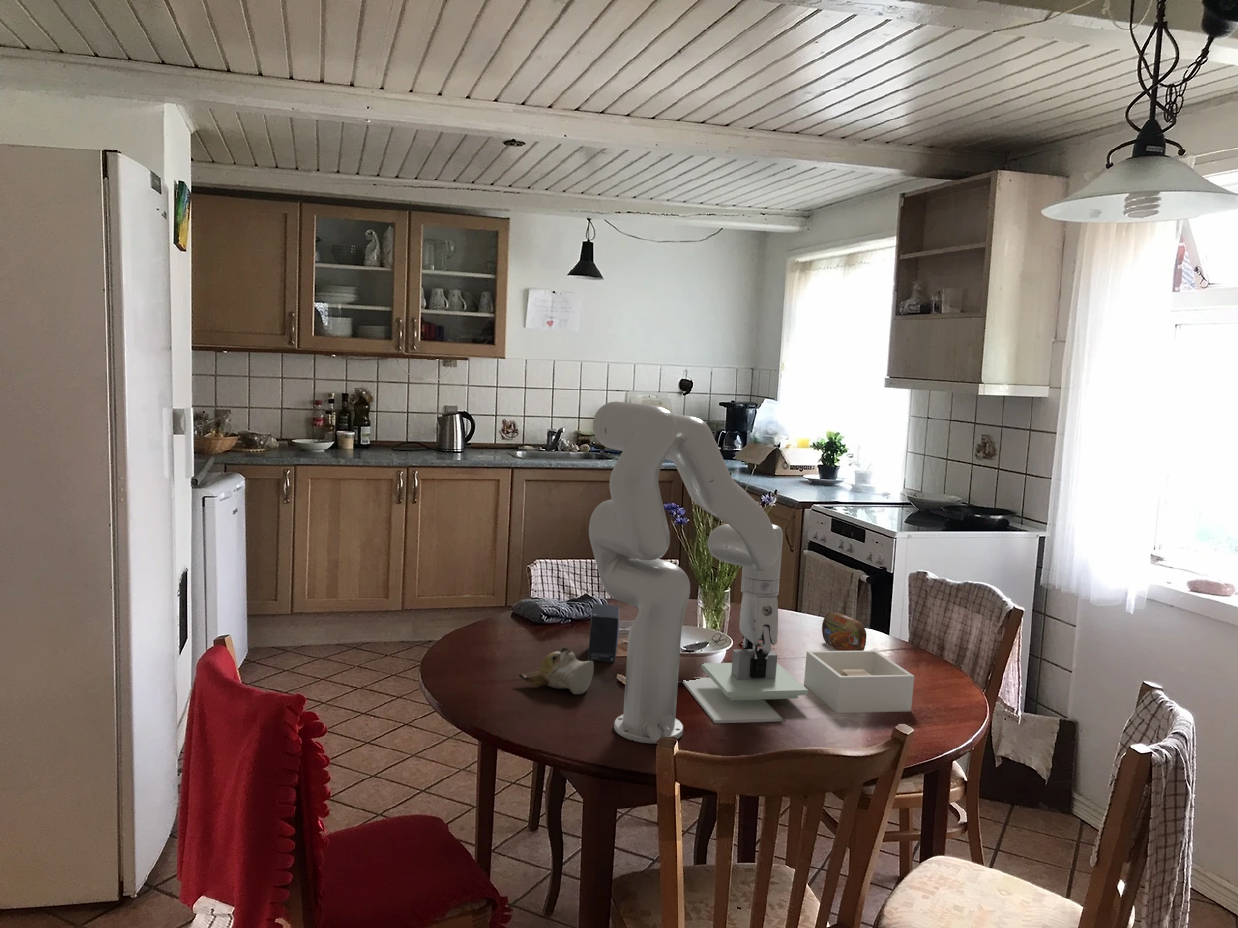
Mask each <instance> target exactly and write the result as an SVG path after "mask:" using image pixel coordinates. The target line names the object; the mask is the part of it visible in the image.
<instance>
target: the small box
mask: <svg viewBox="0 0 1238 928" xmlns="http://www.w3.org/2000/svg"><path fill="white" fill-rule="evenodd" d="M589 626H590V628H589V642H588V644H589V645H588V654H587V655H588V656H587V661H593V662H603V663H604V662H605V663H615V662H616V656H617V650H618V645H619V644H618V643H619V641H618V640H619V630H620V605H619V606H617V605H609V604H599V603H593V605H592V609H591V615H590V625H589Z"/></svg>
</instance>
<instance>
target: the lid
mask: <svg viewBox="0 0 1238 928" xmlns="http://www.w3.org/2000/svg"><path fill="white" fill-rule="evenodd" d="M759 649H760V648H757V651H758V650H759ZM731 656H732V657H731V658H732V659H731V662H707V663H705V662H703V663H704V664H702V663H701V669H702V670H703V671H704V672H705V674H706V675H707V677H710V678H711V679H712V680H713V682H714V683H715V684H716V685H717V686H718V687H719V688H720V690H721V691H722V692H723V693H724V694H725V695H726V696H727V697H729V698H730V699H731V700H758V699H764V700H785V699H786V700H790V699H798V698H799V696H807V695H809V688H807V687H806V686H805V685H804V684H803V683H801V682H800V681H799V680H798V679H796V678H795V677H794V675H792V674H791V673H790V672H789V671H788V670H786V669H785V668H784V667H783V666H782V665H780V664H779V663H778V654H777V653H775V652H774V650H772V649H771V652H770V653H768V659H767V665H766V677H765V678H751V677H750V664H751V658H753V649H743V648H742V649H740V648H739V649H738V648H737V649H732V655H731Z"/></svg>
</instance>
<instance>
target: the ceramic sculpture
mask: <svg viewBox="0 0 1238 928" xmlns="http://www.w3.org/2000/svg"><path fill="white" fill-rule="evenodd" d="M593 676H594V661H588V660H585V661H582V660H579V659H578V658H577V657H576V655H575V652H573V651H572V650H571V649H568V648H566V647H562V648H561V649H560V650H559V651H558V650H557V651H554V652H550V653H549V654H547V655H546V656H545V657H544V658H543V659H542V661H541V665H540V669H539V670H538V671H535V670H533V671H530V672H528V673H525V674H524V673H519V674H518V677H519V678H520V679H522V680H523V681H526V683H529V684H531V685H534V686H548V687H549V688H554V689H558V690H559V689H560V690H562V689H569V691H570V692H571V693H572V694H573V695H583V694H585V692H587V690H588V689H589V688H590V685H591V683H592V679H593Z"/></svg>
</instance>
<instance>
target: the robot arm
mask: <svg viewBox="0 0 1238 928" xmlns="http://www.w3.org/2000/svg"><path fill="white" fill-rule="evenodd" d="M592 428H593V429H592V430H593V434H594V436H595V438H596V439H597V441H598V443H600V444H601V445H602V446H604V447H605V448H608V449H611V450H617V451H621V453H620V455H619V457H618V459H617V461H616V462H615V465H614V466H613V469H612V471H611V473H610V476H609V477H610V478H609V493H610V499H607V500H604V501H602V502H601V503H599V504H598V505H597V506H596V507H595V508H594V510H593V511H592V513H591V516H590V518H589V524H588V537H589V541H590V546H591V550H592V552H593V553H592V554H593V558H594V560H595V566H596V567H597V568H596V569H597V571H598V575H599V579H600V583H601V585H602V587H603V588H604V591H605V592H606V593H607V595H608V596H610V598H612V599H613V600H615V601H617V602H620V603H622V604H623V603H624V604H626V605H629V606H631V607H634V608H636V609H638V613H637V616H636V617H635V618H634V620H633V622H632V624H631V626H630V628H629V632H628V635H627V636H628V637H627V653H626V664H625V665H626V666H625V668H626V669H625V680H624V681H625V685H624V698H623V699H624V700H623V713H622V714H621V715H618V717H616V718H615V720H614V724H613V726H614V727H613V728H614V731H615V732H616V733H617V734H618V735H619V736H620V737H623V738H625V739H627V740H629V741H632V740H633V742H637V743H641V744H657V743H656V742H657V740H659V739H660V738H663V737H675V738H677V739H676V740H678V739H680V738H681V737H682V736H683V732H684V725H683V723H682V722H681V721H680V720H679V719H677V718H676V716H677V715H676V714H677V703H678V702H677V699H678V697H677V696H678V686H679V671H680V656H681V642H682V641H681V639H682V631H683V622H684V617H685V612H686V609H687V606H688V603H689V600H690V595H691V582H690V579H689V576H688V574H687V573H686V572H685V571H684V570H683V569H682V568H681V567H680V566H678V565H677V564H675V563H673V562H670V561H667V560H664V559H662V557H663V556H664V555H665V554H667V551H668V549H669V546H670V543H671V542H670V541H671V539H670V536H671V534H670V529H669V524H668V520H667V516H666V512H665V511H666V510H665V508H664V504H663V500H662V496H661V491H660V485H659V475H660V472H661V468H662V466H663V463H664V461H665V460H668V461H671V462H672V463H673V464H674V465H675V468H676V470H677V473H679V476H680V478H681V480H682V482H683V484H684V486H685V488H686V490H687V492H688V495H689V497H690V499H691V500H692V501H693V503H694V504H696V505H697V506H699V508H701V509H703V510H704V511H705V512H706V513H708V514H711V515H712V516H714V517H716V518H717V519H719V520H720V521H722V522H724V524H721V525H717V526H716V527H715V528H714V529H713V530H711V532H710V534H709V535H708V538H707V548H708V552H709V553H710V554H711V556H712V557H714V558H715V559H716V560H719V561H721V562H723V563H727V564H731V565H733V566H739V567H741V568H742V569H741V583H740V584H741V585H740V592H741V593H742V597H741V603H740V610H739V625H738V626H739V632H740V634H741V635H742V639H743V640H742V649H753V658H751V664H750V677H751V678H765V677H766V665H767V659H768V653H770V652H771V650H772V646H775V645H776V644H777V643H778V632H779V631H778V630H779V606H778V605H779V602H778V595H779V590H780V579H781V577H780V576H781V568H782V555H783V553H782V552H783V542H784V532H783V531H784V530H783V529H782V527H781V526H779V525H776V524H773V523H772V522H771V519H770V517H769V516H768V514H767V512H766V511H765V510H764V508H763V507H762V506H761V505H760V504H759V503H758V502H757V501H756V500H755V499H754V498H753V497H752V496H751V495H750V494H749V492H747V491H746V490H745V489H744V488H743V487H741V486H740V484H739V483H737V482H736V481H735V480H734V479H733V477H732V475H731V473H730V470H729V468H728V466H727V465H726V462H725V460H724V457H723V455H722V453H721V451H720V448H719V446H718V444H717V442H716V439H715V436H714V434H713V432H712V430H711V428H710V427H709V426H708V424H707V423H706V422H705V421H704V420H702V419H701V418H698V417H696V416H692V415H682V414H676V413H675V414H674V413H672V412H671V411H670V410H668V409H666V408H664V407H662V406H657V405H653V404H645V403H635V402H625V401H610V402H607V403H605V404H603V405H601V407H599V408H598V410H597V411H596V412H595V414H594V416H593V420H592ZM760 641H761V642H760ZM759 647H760V648H759ZM757 649H759V650H758V651H757Z"/></svg>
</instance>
